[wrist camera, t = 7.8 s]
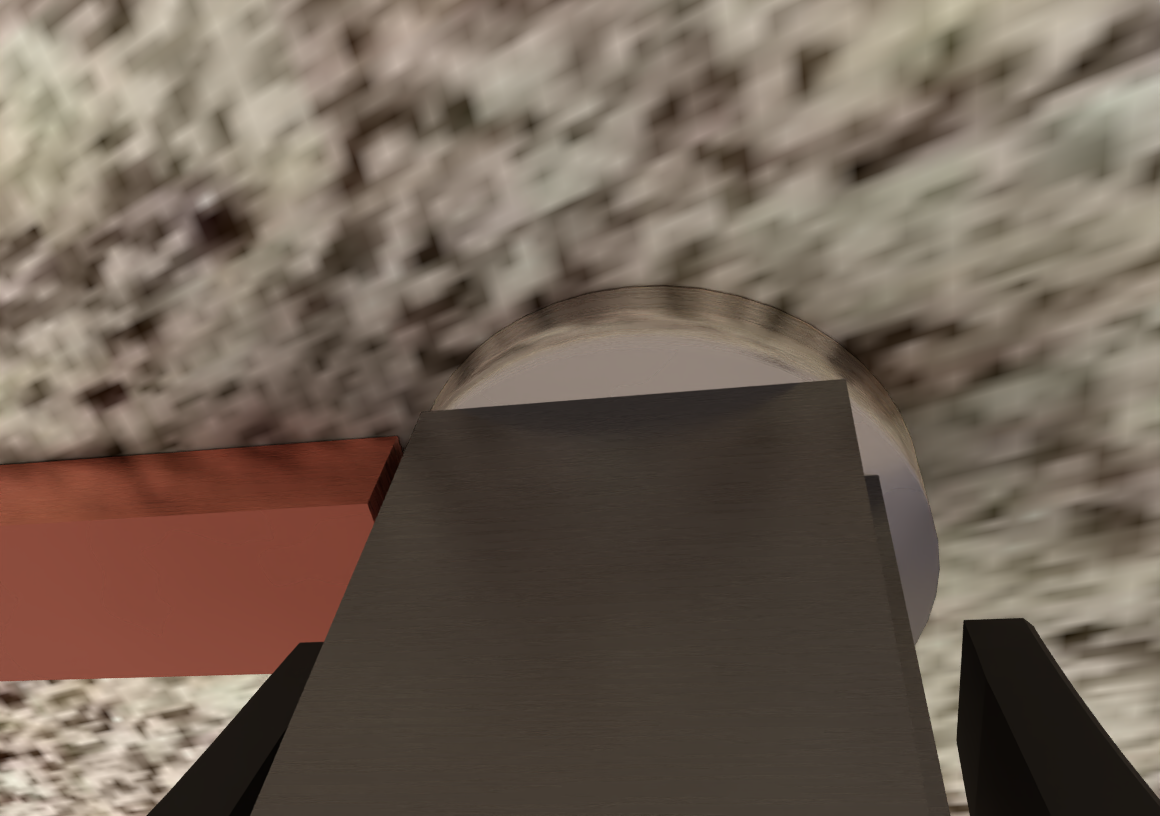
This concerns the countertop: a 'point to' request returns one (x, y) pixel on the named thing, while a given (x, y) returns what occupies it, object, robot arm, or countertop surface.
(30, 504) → the ratchet
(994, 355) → the countertop surface
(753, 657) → the socket
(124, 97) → the countertop surface
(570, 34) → the countertop surface
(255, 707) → the robot arm
